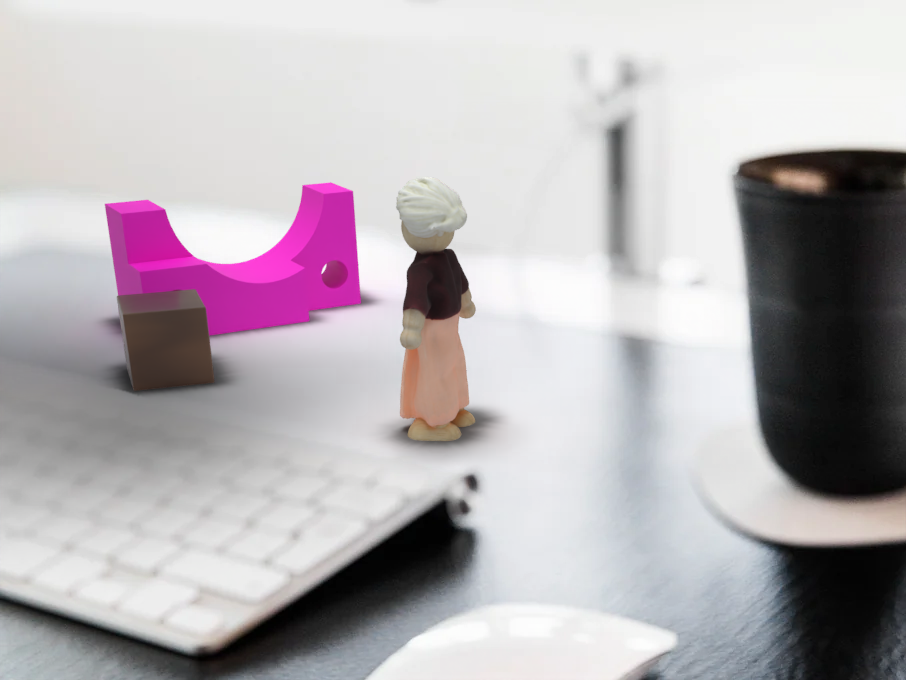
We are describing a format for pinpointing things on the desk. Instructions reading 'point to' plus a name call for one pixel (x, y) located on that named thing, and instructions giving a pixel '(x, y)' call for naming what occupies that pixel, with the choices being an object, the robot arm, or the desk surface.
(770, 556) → the desk surface
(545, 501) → the desk surface
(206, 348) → the walnut cube
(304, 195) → the toy block
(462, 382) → the grandmother figurine
